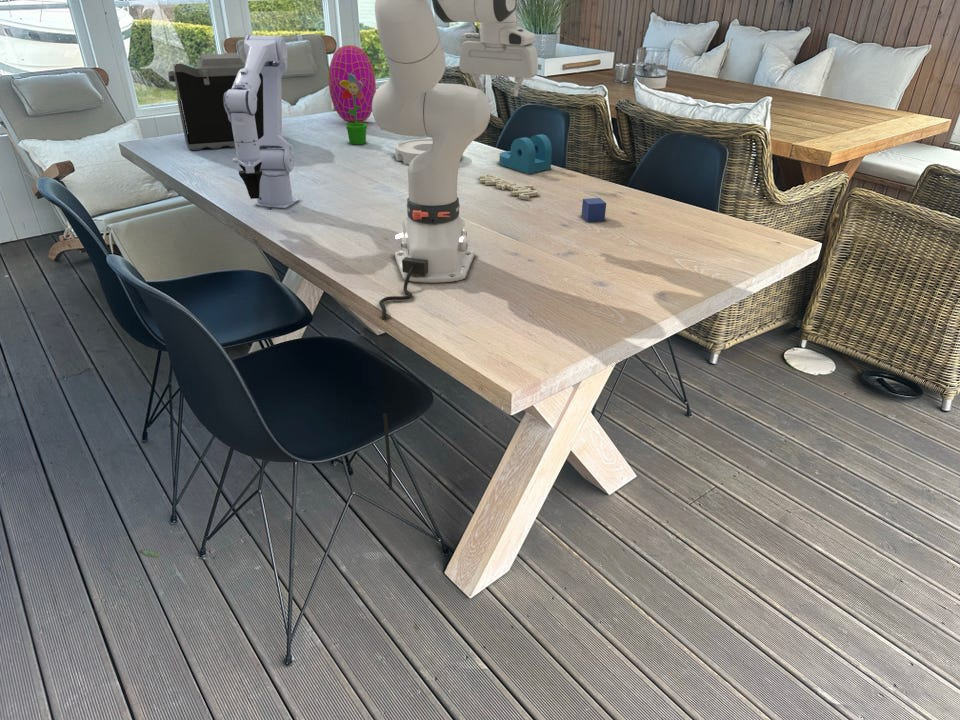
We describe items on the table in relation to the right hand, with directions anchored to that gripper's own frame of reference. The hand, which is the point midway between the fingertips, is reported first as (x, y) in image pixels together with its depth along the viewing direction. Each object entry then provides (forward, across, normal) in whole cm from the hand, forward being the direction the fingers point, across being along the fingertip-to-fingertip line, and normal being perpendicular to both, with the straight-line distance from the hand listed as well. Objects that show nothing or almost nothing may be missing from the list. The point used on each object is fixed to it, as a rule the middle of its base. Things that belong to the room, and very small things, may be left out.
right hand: (497, 94), depth 174 cm
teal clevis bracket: (+33, -14, +51) cm, 63 cm away
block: (+32, +25, +10) cm, 42 cm away
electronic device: (+33, -124, +32) cm, 133 cm away
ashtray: (+33, -47, +46) cm, 73 cm away
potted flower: (+33, -82, +52) cm, 103 cm away
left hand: (+23, -52, -36) cm, 68 cm away
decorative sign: (+32, -7, +26) cm, 42 cm away
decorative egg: (+34, -104, +82) cm, 137 cm away
